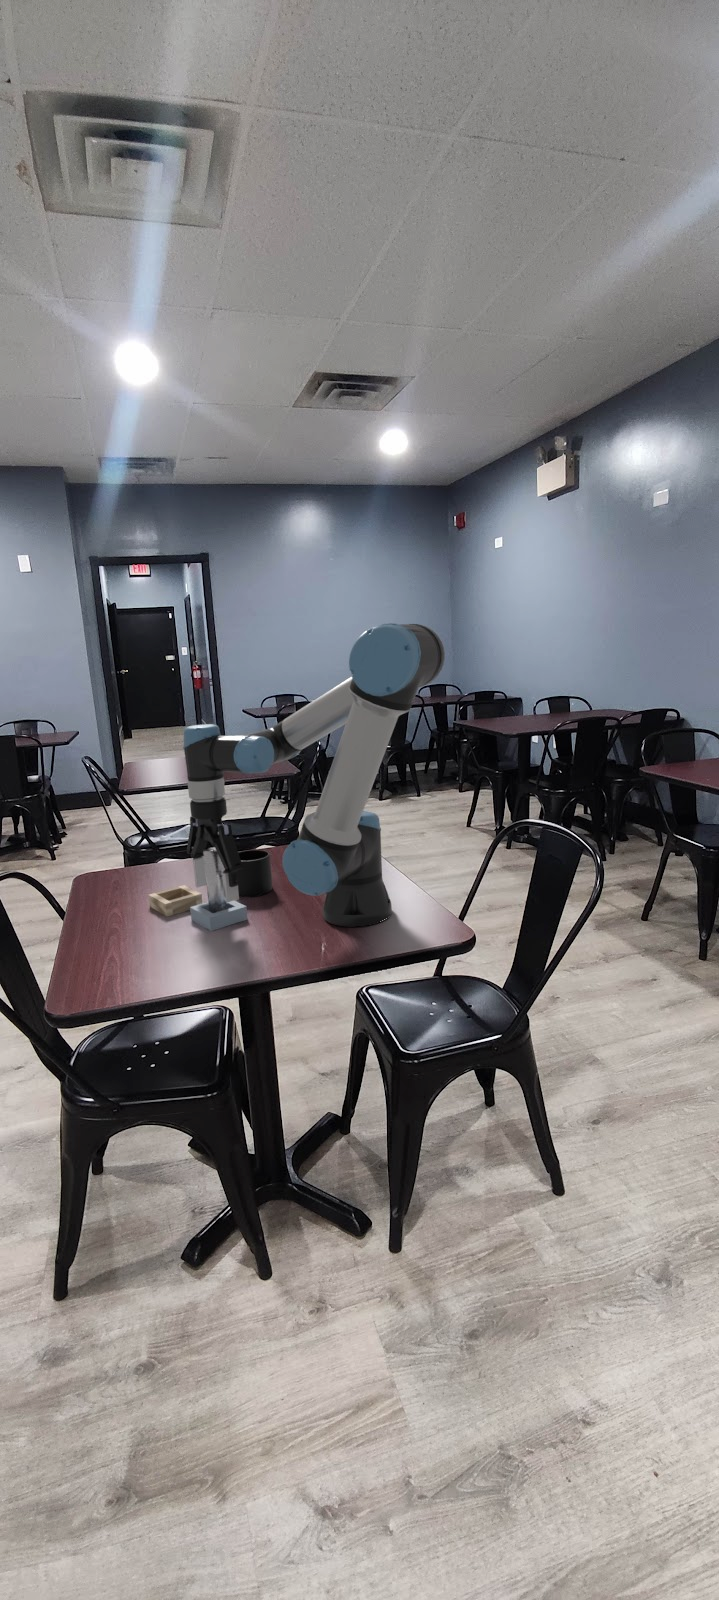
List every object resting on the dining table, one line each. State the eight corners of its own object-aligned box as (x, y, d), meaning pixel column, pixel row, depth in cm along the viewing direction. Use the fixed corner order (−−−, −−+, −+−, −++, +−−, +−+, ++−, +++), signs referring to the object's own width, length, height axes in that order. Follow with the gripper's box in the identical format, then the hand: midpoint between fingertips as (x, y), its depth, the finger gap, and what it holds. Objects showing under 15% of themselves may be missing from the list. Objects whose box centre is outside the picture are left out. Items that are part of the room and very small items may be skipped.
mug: (268, 879, 185) (265, 845, 183) (275, 894, 173) (272, 858, 171) (231, 883, 183) (228, 849, 181) (235, 899, 171) (232, 863, 169)
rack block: (202, 905, 168) (201, 893, 167) (166, 916, 162) (165, 904, 162) (185, 896, 175) (183, 885, 174) (149, 906, 169) (148, 894, 168)
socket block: (247, 919, 158) (246, 906, 158) (211, 931, 153) (209, 917, 152) (227, 908, 165) (225, 896, 165) (191, 919, 160) (190, 907, 159)
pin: (231, 919, 159) (225, 849, 155) (215, 924, 156) (208, 853, 153) (222, 914, 162) (216, 846, 158) (206, 919, 159) (199, 850, 156)
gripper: (253, 803, 146) (262, 902, 151) (196, 787, 165) (204, 876, 169) (221, 809, 141) (230, 911, 146) (165, 793, 160) (175, 884, 165)
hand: (216, 892), depth 158 cm, fingers open, 13 cm apart
